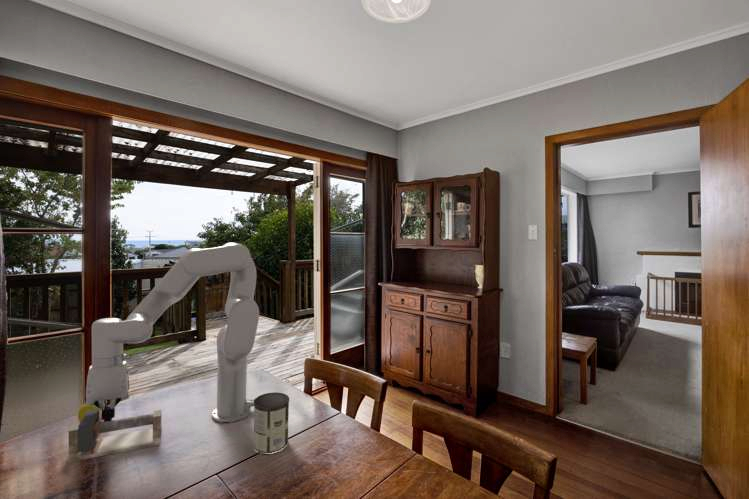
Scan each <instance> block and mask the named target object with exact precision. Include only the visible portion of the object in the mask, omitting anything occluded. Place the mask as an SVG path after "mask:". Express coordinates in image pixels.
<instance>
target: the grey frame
mask: <svg viewBox="0 0 749 499" xmlns="http://www.w3.org/2000/svg"><path fill="white" fill-rule="evenodd" d="M99 409H100V408H99ZM99 409H94V410H87V411H86V413H85V415H84V417H83V418H82V420H81V422H79V423H80V424H79V425H78V450H79V452H84V451H89V450H92V449H93V447H94V444H95V442H96V440H97V438H99V435H100V434H96V435H93V425H94V423H97V422H100V415H99Z"/></svg>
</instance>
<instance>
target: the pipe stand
mask: <svg viewBox="0 0 749 499" xmlns="http://www.w3.org/2000/svg"><path fill="white" fill-rule="evenodd" d="M79 424H80V422H77V423H72V425H71V427H70V429H69V430H68V456H67V457H66V459H65V463H73V462H77V461H81V460H86V459H91V458H97V457H102V456H107V455H113V454H117V453H122V452H127V451H133V450H137V449H142V448H143V449H144V448H147V447H153V446H154V447H155V446H159V445H160V444H161V438H162V432H163V427H162V409H159V410H153V413H150V414H143V415H136V416H130V417H125V418H119V419H118V418H117V419H112V420H111V421H105V422H104V421H99V422H97V423H94V425H93V435H96V434H99V435H100V434H105V433H110V432H117V431H122V430H127V429H133V428H139V427H145V426H149V425H152V428H148V429H143V430H136V431H131V432H126V433H121V434H120V433H119V434H114V435H108V436H103V437H98V438H97V440H96V442H95V444H94V447H93V449H92V450H89V451H84V452H79V450H78V425H79Z"/></svg>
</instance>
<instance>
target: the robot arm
mask: <svg viewBox="0 0 749 499" xmlns="http://www.w3.org/2000/svg"><path fill="white" fill-rule="evenodd" d="M224 273H230V281H229V289H228V292H227V293H228V294H227V297H226V302H225V305H224V313H225V315H226V316H227V318H228V320H227V323H226V325H224V326H222V328H221V329H219V330H218V333H217V337H216V354H217V372H216V373H217V374H216V375H217V376H216V377H217V379H216V380H217V381H216V382H217V384H216V408H214V409H213V410H212V411H211V418H212V420H213V421H216V422H217V421H218V423H222V422H229V423H235V422H238V420H239V421H241V420H243V418H244V419H246V418H247V417H248V416H249V415H250V413H251V410H252V408H254V400H255V399H256V397H255V398H251V399H249V398H248V397H247V374H248V373H247V372H248V370H247V369H248V366H247V365H248V358H247V357H248V356H249V355H250V354H251V352H252V350H253V348H254V344H255V342H256V341H255V340H256V336H257V330H258V325H259V319H260V309H259V306H258V304H257V302H256V301H255V299H254V296H255V291H256V287H257V277H258V276H257V268H256V265H255V262H254V260H253V258H252V256H251V252H250V250H249V248H248V247H247V246H245V245H243V244H240V243H237V242H232V241H231V242H227V243H224V244H223V245H222V246H216V247H209V248H198V247H192V248H190V249H187V251H185V252H184V253H183V254H182V255H181V256H180V257H179V259H178V260H177V261H176V262H175V263H174V264H173V265H172V267H171V268H170V269H169V270H168V271H167V272H166V273H165V275H164V276H163V277H162V278H161V279H160V281H158V282H157V284H155V286H154V287H153V288H152V289H151V291H150V292H148V293H147V295H146V296H145V297H144V298H143V299H142V300H141V301H140V302H139V304H137V306H136V307H135V308H134V309H133V311H131V312H130V313H129V315H128V316H127V318H126V319H125V320H122V319H121V318H118V317H105V318H99V319H97V320H95V321H93V323H92V325H91V365H90V366H89V368H88V373H87V378H86V386H85V387H86V388H85V399H86V400H85V403H84V404H86V405H95V406H97V407H98V408H99V409H100V411H101V420H103V422H105V421H111V420H113V418H115V417H116V416H115V415H116V413H115V412H116V407H117V405H118V404H119V403H120V402H123V401H125V400H128V399H129V398H130V397H131V396H130V391H129V389H130V374H129V368H128V364H127V361H126V360H129V358H130V354H126V353H124V344H141V343H144V342H146V341H148V340H149V339H150V337H151V336H152V334H153V332H154V331H153V328H154V327H153V325H154V324H155V323H156V322H157V321H158V319H159V318H160V317H161V316H162V315H163V314H164V312H166V310H168V309H169V308H170V307H171V306H172V305H174V304H176V303H177V302H179V301H181V300H182V299H183V298H184V297H185V296H186V294H188V292H189V291H190V290H191V289H192V287H193V286H194V285H195V284H196V282H197V281H198V280H199V279H200V278H201V277H208V276H209V277H210V276H215V275H219V274H224ZM107 400H108V401H109V400H110V403H109V405H108V404H107ZM251 407H252V408H251ZM234 421H235V422H234Z"/></svg>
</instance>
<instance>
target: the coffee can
mask: <svg viewBox="0 0 749 499" xmlns="http://www.w3.org/2000/svg"><path fill="white" fill-rule="evenodd" d="M289 404H290V397H289V395H288V394H285V393H282V392H275V391H274V392H267V393H263V394H261V395H258V396H257V397H255V400H254V406H253V446H254V448H253V450H254V449H255V450H256V451H258V452H260V453H272V452H275V451H279V450H281V449H282V448H284V447H285V446H286V445H287V443H288V444H289V415H290V414H289V412H290V411H289ZM255 450H254V451H255Z"/></svg>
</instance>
